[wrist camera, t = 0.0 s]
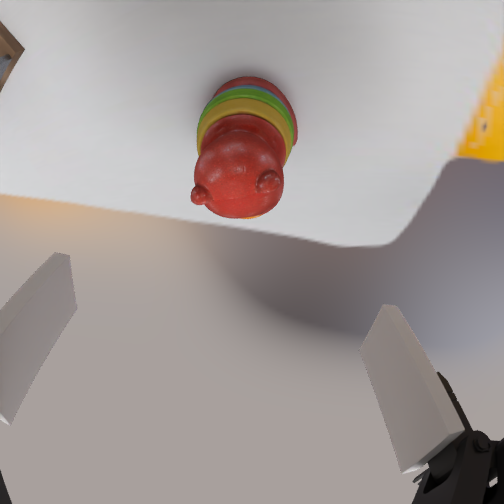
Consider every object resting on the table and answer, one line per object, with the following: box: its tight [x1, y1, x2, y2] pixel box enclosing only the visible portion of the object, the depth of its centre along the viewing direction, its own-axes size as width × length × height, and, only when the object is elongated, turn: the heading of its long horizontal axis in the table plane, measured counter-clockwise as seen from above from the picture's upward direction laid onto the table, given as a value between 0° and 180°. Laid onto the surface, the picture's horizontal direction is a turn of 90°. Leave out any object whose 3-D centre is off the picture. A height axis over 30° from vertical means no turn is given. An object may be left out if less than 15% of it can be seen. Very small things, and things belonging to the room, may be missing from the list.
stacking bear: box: [191, 77, 298, 219], centre depth 27 cm, size 11×10×18 cm
